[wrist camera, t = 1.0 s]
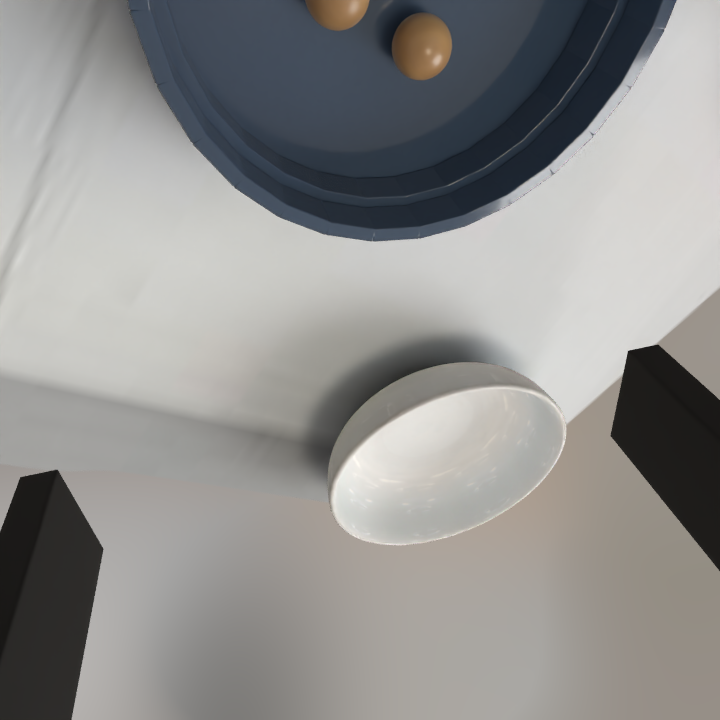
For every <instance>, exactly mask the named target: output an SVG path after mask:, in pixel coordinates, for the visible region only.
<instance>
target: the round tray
mask: <svg viewBox="0 0 720 720" xmlns="http://www.w3.org/2000/svg"><path fill="white" fill-rule="evenodd" d="M127 2H128V8H129V10H130V15H131V18H132V20H133V23H134V26H135V29H136V31H137V34H138V37H139V40H140V42H141V45H142V48H143V51H144V53H145V56H146V59H147V62H148V64H149V67H150V70H151V73H152V75H153V78H154V81H155V83H156V84H157V87H158V89H159V91H160V92H161V94H162V96H163V97H164V99H165V100H166V102H167V104H168V105H169V107H170V109H171V110H172V112H173V113H174V115H175V117H176V118H177V120H178V122H179V123H180V125H181V126H182V128H183V130H184V131H185V133H186V135H187V136H188V138H189V139H190V141H191V142H192V143H193V145H194V146H195V147H196V148H197V149H198V150H199V151H200V152H201V153H202V154H203V155H204V157H205V158H206V159H207V160H208V161H209V162H210V163H211V164H212V165H213V166H214V167H215V168H216V169H217V170H218V171H219V172H220V173H221V174H222V175H223V176H224V177H225V178H226V179H227V181H228V182H229V183H230V184H231V185H232V186H234V187H235V188H236V189H237V190H239V191H240V192H242V193H243V194H245V195H246V196H248V197H249V198H251V199H252V200H254V201H255V202H257V203H258V204H260V205H261V206H263V207H264V208H266V209H267V210H269V211H270V212H272V213H273V214H275V215H276V216H278V217H280V218H282V219H285V220H288V221H290V222H293V223H296V224H298V225H301V226H304V227H306V228H309V229H311V230H314V231H317V232H319V233H322V234H326V235H331V236H338V237H345V238H352V239H359V240H366V241H388V240H403V239H418V238H424V237H427V236H431V235H435V234H439V233H442V232H446V231H450V230H453V229H457V228H461V227H465V226H467V225H469V224H471V223H473V222H475V221H478V220H480V219H482V218H484V217H486V216H488V215H490V214H492V213H494V212H497V211H499V210H501V209H503V208H505V207H507V206H509V205H510V204H512V203H513V202H515V201H516V200H518V199H519V198H521V197H522V196H523V195H525V194H526V193H528V192H529V191H531V190H532V189H533V188H535V187H536V186H538V185H539V184H541V183H542V182H543V181H545V180H546V179H548V178H549V177H551V176H552V175H553V174H555V173H556V172H557V171H558V170H559V169H560V168H561V167H562V166H563V165H564V164H565V163H566V162H567V161H568V160H569V159H570V158H571V157H572V156H573V155H574V154H575V153H576V152H577V151H579V150H580V149H581V148H582V147H583V146H584V145H585V144H586V143H587V142H588V141H589V140H590V139H591V138H592V137H593V135H595V134H596V132H597V131H598V130H599V129H600V127H601V126H602V125H603V123H604V122H605V121H606V120H607V118H608V117H609V116H610V114H611V113H612V112H613V111H614V109H615V108H616V107H617V105H618V104H619V103H620V102H621V100H622V99H623V98H624V97H625V95H626V94H627V93H628V91H629V90H630V89H631V87H632V86H633V84H634V83H635V81H636V79H637V77H638V76H639V74H640V72H641V70H642V69H643V67H644V65H645V63H646V62H647V60H648V58H649V57H650V55H651V53H652V51H653V50H654V48H655V46H656V44H657V43H658V41H659V39H660V37H661V36H662V34H663V32H664V29H665V28H666V25H667V23H668V20H669V18H670V15H671V13H672V10H673V8H674V5H675V3H676V0H369V5H368V8H367V10H366V13H365V14H364V16H363V17H362V19H361V20H360V21H359V22H358V23H357V24H356V25H354V26H353V27H351V28H349V29H346V30H342V31H334V30H329V29H326V28H324V27H323V26H321V25H320V24H318V23H317V22H316V21H315V20H314V18H313V17H312V16H311V14H310V12H309V10H308V8H307V5H306V2H305V0H127ZM421 12H425V13H431V14H434V15H436V16H437V17H439V18H440V19H441V20H442V21H443V22H444V23H445V24H446V26H447V27H448V29H449V31H450V34H451V39H452V51H451V55H450V58H449V61H448V63H447V65H446V66H445V68H444V69H443V70H442V71H441V72H440V73H439V74H438V75H436V76H434V77H433V78H430V79H427V80H414V79H410V78H408V77H406V76H405V75H404V74H402V73H401V72H400V70H399V69H398V68H397V66H396V64H395V62H394V60H393V56H392V40H393V36H394V33H395V31H396V29H397V28H398V26H399V25H400V24H401V22H402V21H403V20H405V19H406V18H407V17H409V16H411V15H413V14H416V13H421Z"/></svg>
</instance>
